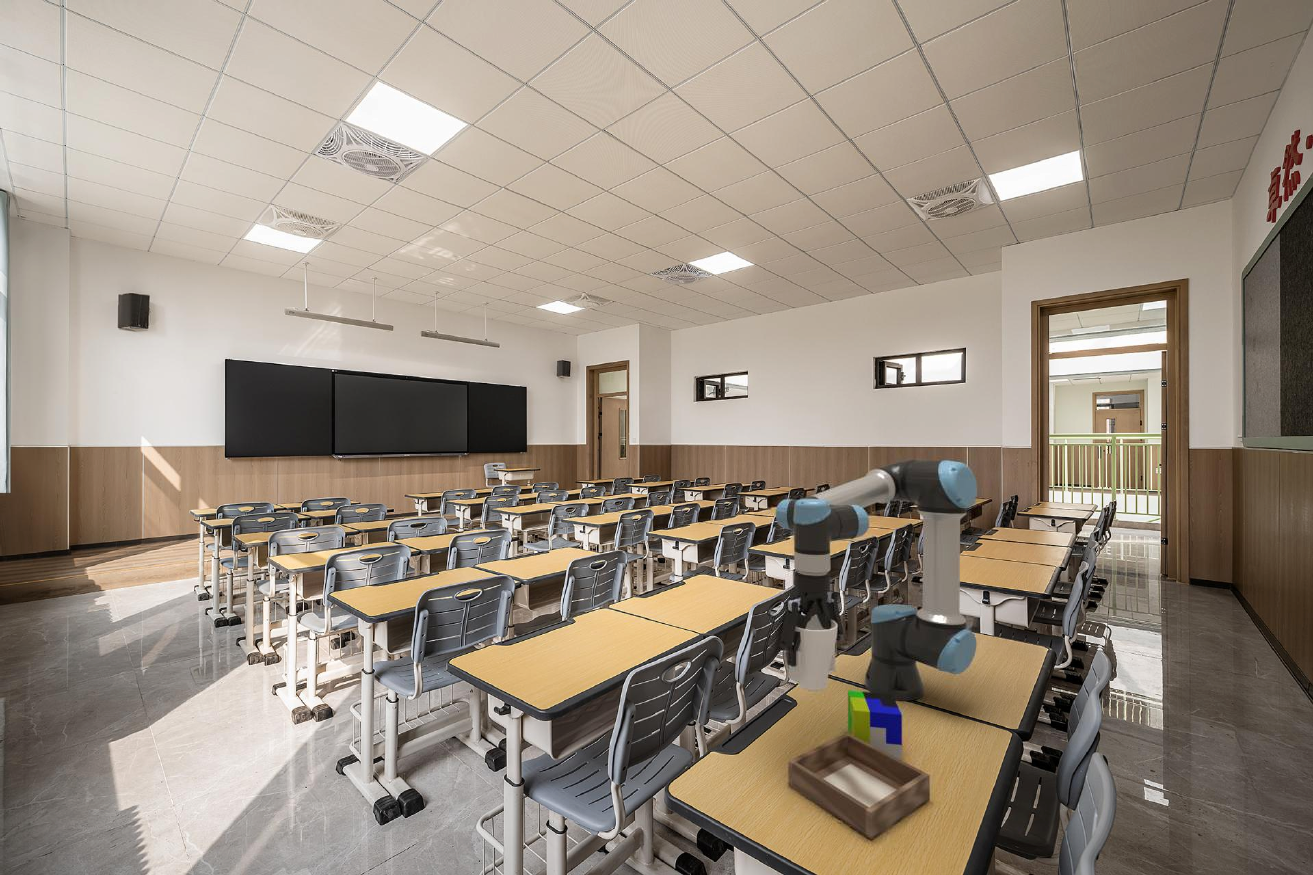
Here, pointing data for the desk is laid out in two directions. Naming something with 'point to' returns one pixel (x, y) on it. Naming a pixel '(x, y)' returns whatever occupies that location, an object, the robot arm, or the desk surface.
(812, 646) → the cup
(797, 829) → the desk surface
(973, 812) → the desk surface
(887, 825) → the walled box
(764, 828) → the desk surface
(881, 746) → the puzzle toy
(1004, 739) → the desk surface
